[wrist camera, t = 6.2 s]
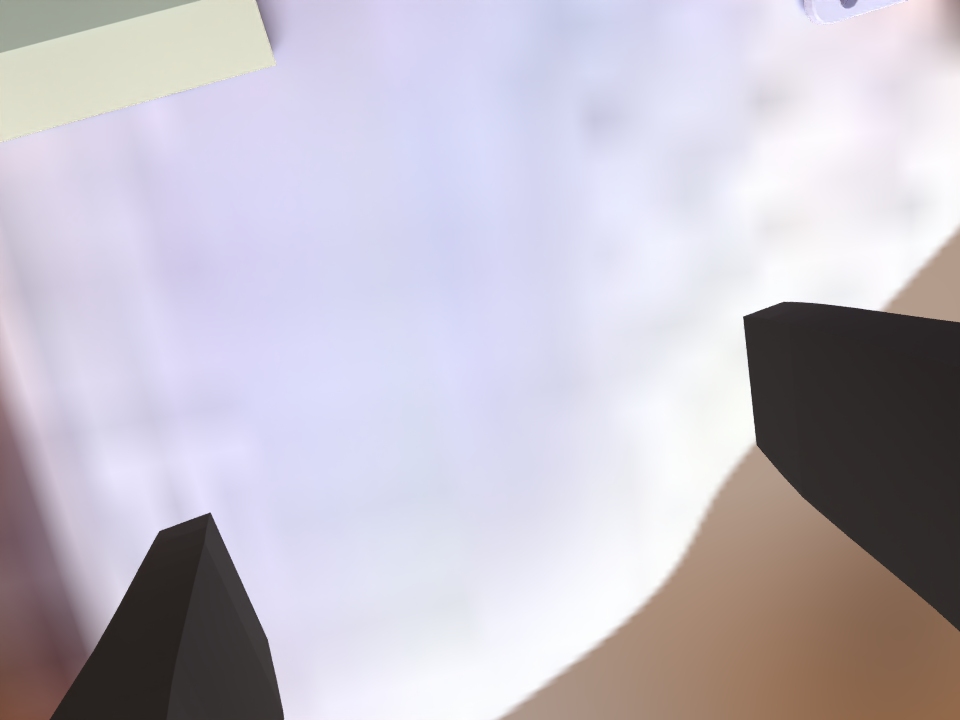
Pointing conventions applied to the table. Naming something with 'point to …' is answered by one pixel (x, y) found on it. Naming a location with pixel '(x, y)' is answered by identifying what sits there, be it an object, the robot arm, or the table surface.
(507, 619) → the table surface
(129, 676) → the robot arm
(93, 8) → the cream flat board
